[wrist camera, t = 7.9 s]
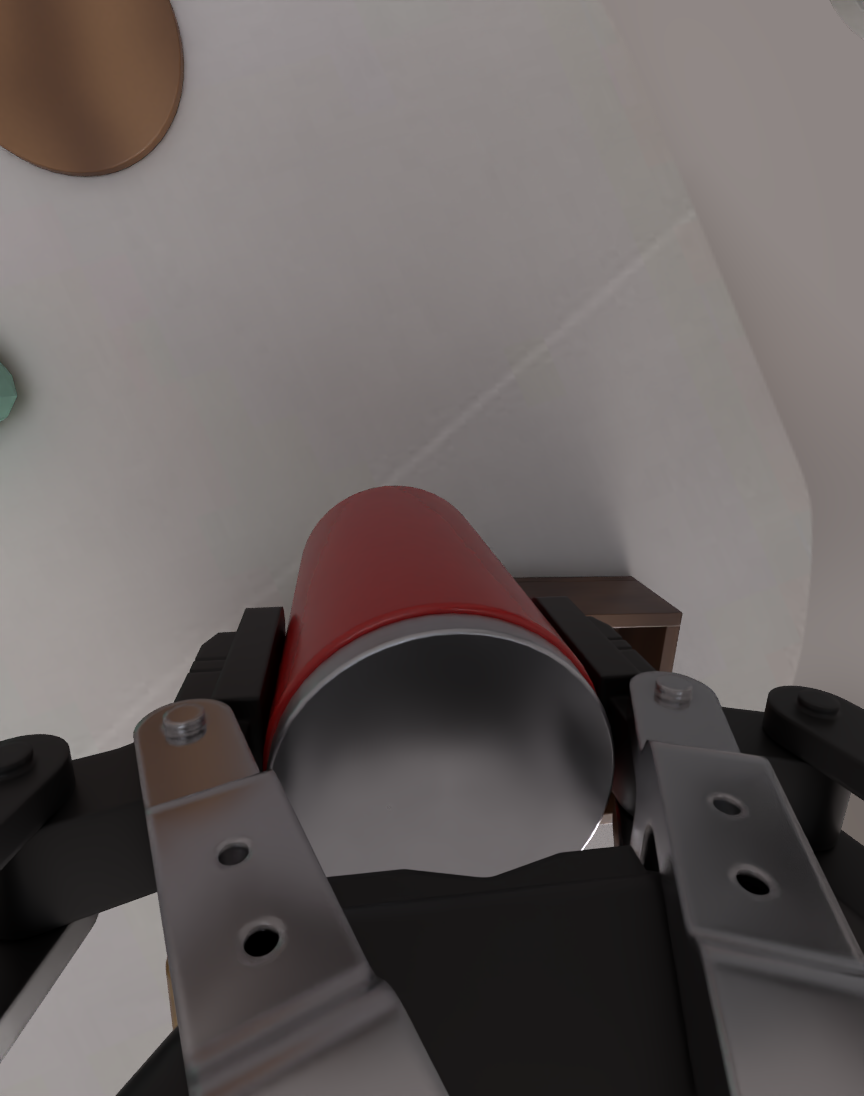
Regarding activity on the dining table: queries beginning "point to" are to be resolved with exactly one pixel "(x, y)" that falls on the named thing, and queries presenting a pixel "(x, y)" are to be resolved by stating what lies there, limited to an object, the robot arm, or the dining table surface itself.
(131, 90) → the coaster
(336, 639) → the can
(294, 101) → the dining table surface
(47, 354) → the dining table surface
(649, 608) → the chest
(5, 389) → the container
